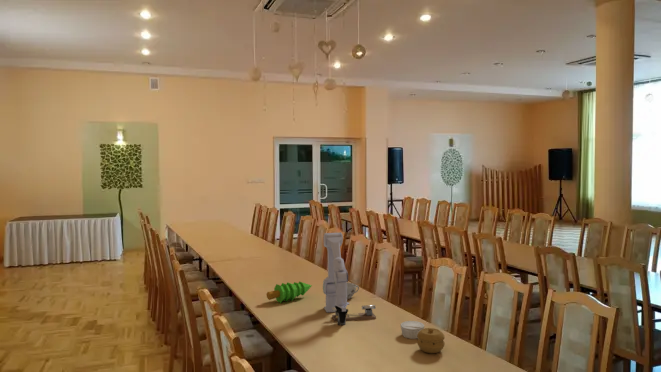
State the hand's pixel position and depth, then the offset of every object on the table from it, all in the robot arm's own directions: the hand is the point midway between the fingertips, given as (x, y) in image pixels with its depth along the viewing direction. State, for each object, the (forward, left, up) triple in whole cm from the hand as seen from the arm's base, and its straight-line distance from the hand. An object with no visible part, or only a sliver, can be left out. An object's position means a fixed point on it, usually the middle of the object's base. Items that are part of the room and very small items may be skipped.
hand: (341, 321), depth 246 cm
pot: (+41, +32, -2) cm, 52 cm away
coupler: (0, 0, -1) cm, 1 cm away
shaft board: (-8, +8, -1) cm, 11 cm away
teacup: (-45, +12, -2) cm, 47 cm away
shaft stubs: (-8, +8, 0) cm, 11 cm away
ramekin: (+22, +30, -2) cm, 37 cm away
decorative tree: (-47, -22, -2) cm, 52 cm away
